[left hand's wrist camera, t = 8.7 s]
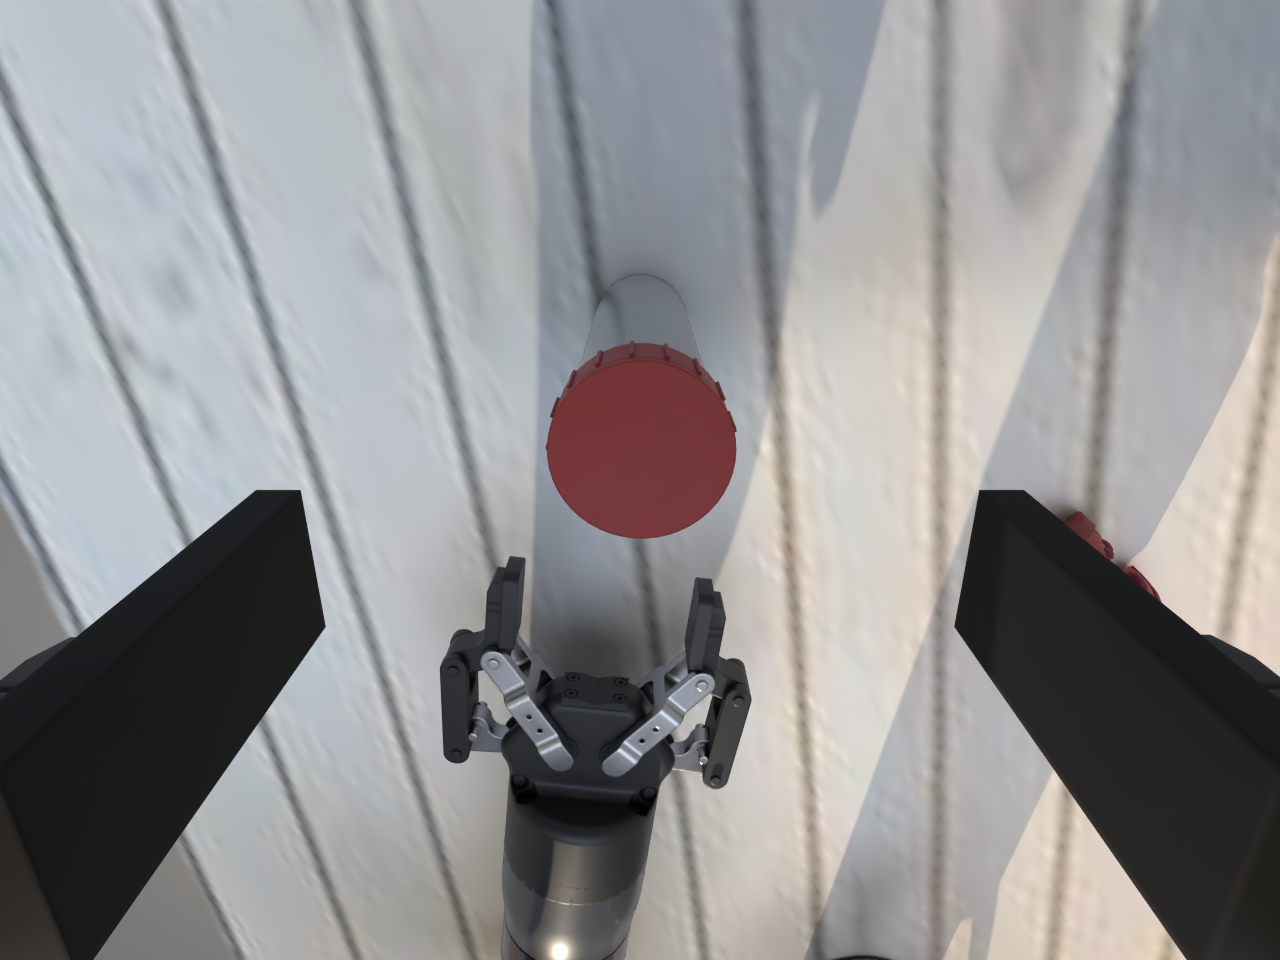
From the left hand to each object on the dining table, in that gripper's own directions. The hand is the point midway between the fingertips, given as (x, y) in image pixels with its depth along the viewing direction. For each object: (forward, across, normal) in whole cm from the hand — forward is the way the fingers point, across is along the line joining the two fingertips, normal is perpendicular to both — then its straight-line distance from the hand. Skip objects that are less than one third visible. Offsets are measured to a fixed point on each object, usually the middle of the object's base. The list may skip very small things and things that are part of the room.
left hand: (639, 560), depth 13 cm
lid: (+6, 0, 0) cm, 6 cm away
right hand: (+18, +1, +10) cm, 20 cm away
